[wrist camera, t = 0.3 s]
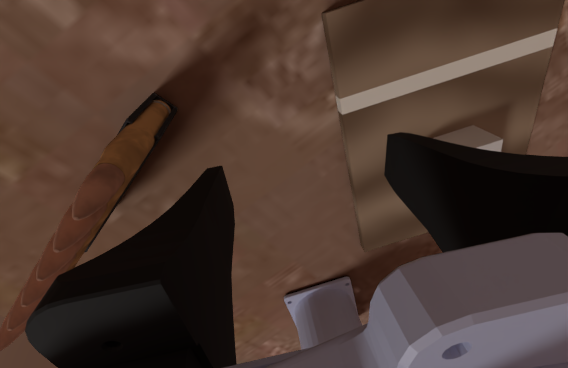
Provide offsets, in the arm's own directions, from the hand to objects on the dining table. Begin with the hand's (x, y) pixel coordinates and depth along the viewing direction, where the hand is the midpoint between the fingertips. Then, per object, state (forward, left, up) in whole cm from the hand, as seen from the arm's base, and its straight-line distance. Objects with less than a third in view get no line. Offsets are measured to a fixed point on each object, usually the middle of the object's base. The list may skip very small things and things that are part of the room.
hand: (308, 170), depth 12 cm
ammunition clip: (0, +12, -10) cm, 15 cm away
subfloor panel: (-7, -12, -10) cm, 17 cm away
